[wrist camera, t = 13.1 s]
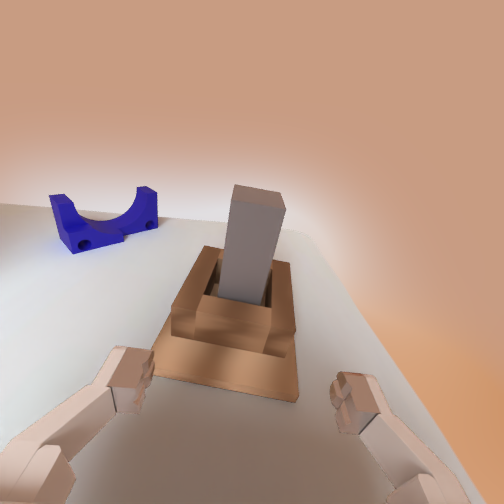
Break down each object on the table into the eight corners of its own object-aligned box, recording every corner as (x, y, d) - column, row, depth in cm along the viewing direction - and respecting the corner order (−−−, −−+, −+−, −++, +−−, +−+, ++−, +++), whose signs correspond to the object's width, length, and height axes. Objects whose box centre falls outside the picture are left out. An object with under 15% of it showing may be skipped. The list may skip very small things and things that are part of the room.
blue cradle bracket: (73, 255, 29) (62, 209, 26) (60, 239, 31) (48, 195, 28) (163, 232, 37) (162, 196, 34) (147, 221, 40) (146, 186, 36)
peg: (214, 318, 23) (231, 199, 17) (219, 291, 26) (234, 184, 20) (254, 323, 23) (286, 209, 17) (254, 296, 27) (280, 192, 21)
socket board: (143, 373, 18) (139, 334, 16) (200, 261, 32) (202, 232, 30) (295, 402, 18) (313, 368, 16) (287, 279, 32) (296, 251, 30)
